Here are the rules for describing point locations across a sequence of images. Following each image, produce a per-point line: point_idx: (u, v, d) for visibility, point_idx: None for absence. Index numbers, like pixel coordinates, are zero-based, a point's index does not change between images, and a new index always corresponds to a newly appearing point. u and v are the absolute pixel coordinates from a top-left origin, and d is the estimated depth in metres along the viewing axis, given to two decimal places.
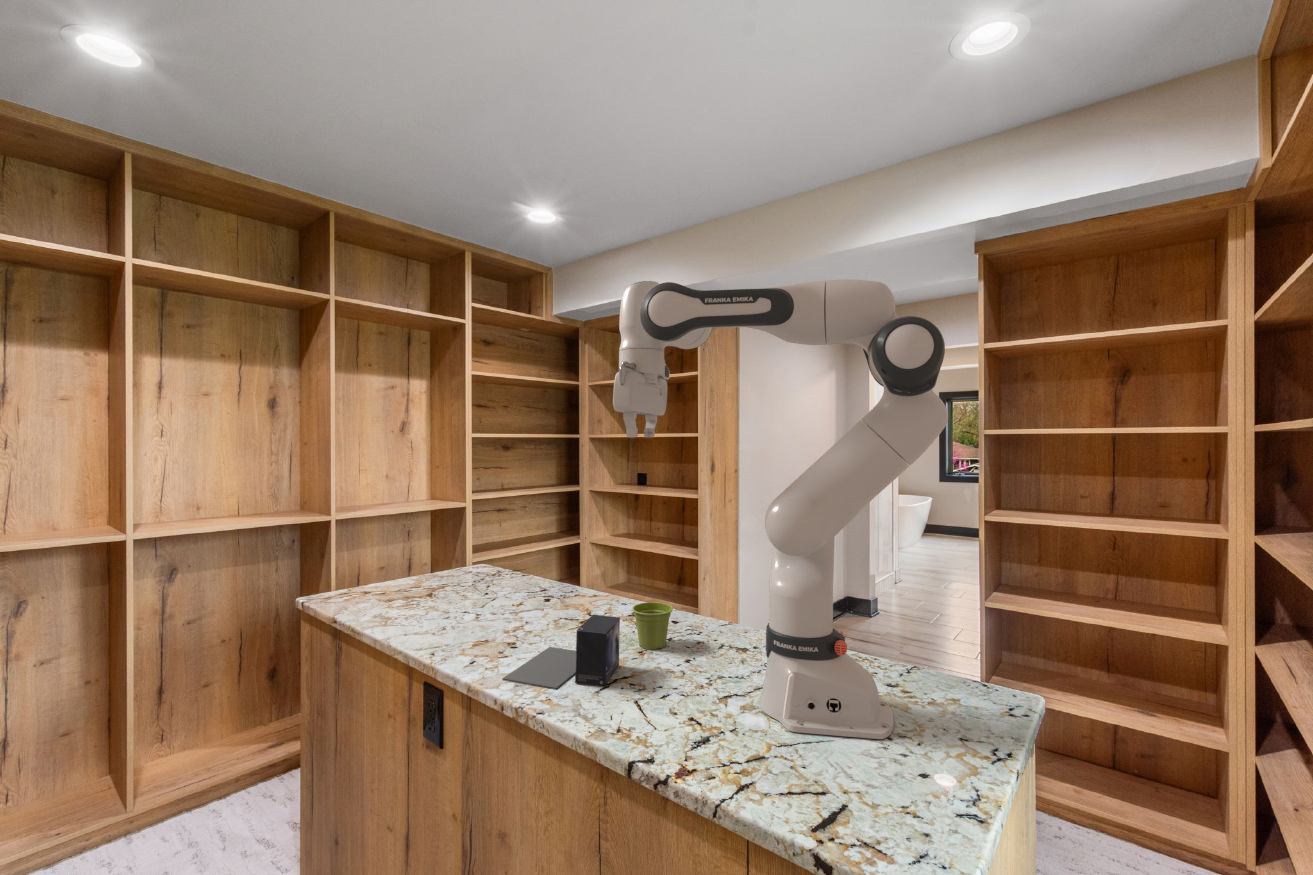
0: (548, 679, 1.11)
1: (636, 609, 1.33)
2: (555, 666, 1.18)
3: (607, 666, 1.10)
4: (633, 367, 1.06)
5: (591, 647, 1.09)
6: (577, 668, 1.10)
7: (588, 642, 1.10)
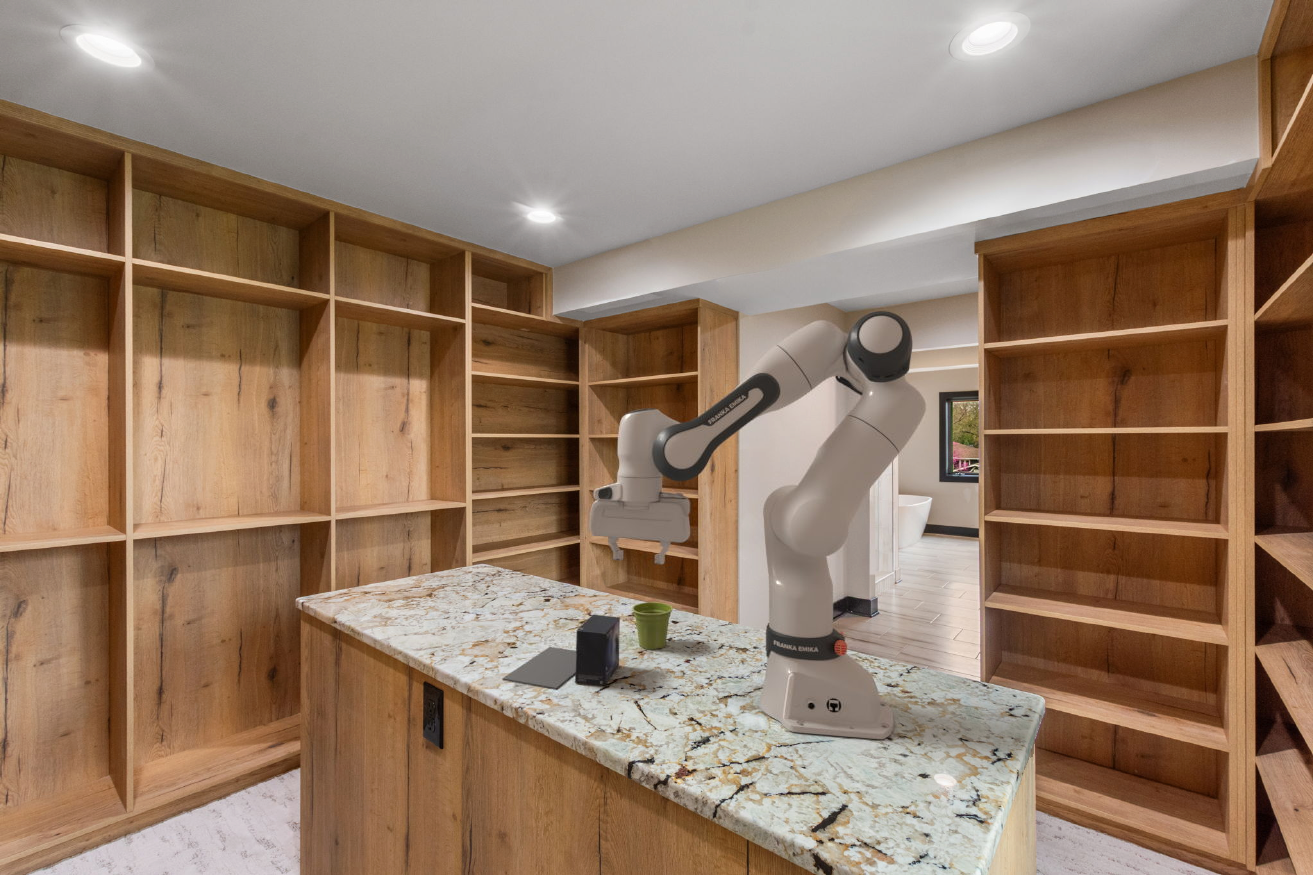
0: (548, 679, 1.11)
1: (636, 609, 1.33)
2: (555, 666, 1.18)
3: (607, 666, 1.10)
4: None
5: (591, 647, 1.09)
6: (577, 668, 1.10)
7: (588, 642, 1.10)
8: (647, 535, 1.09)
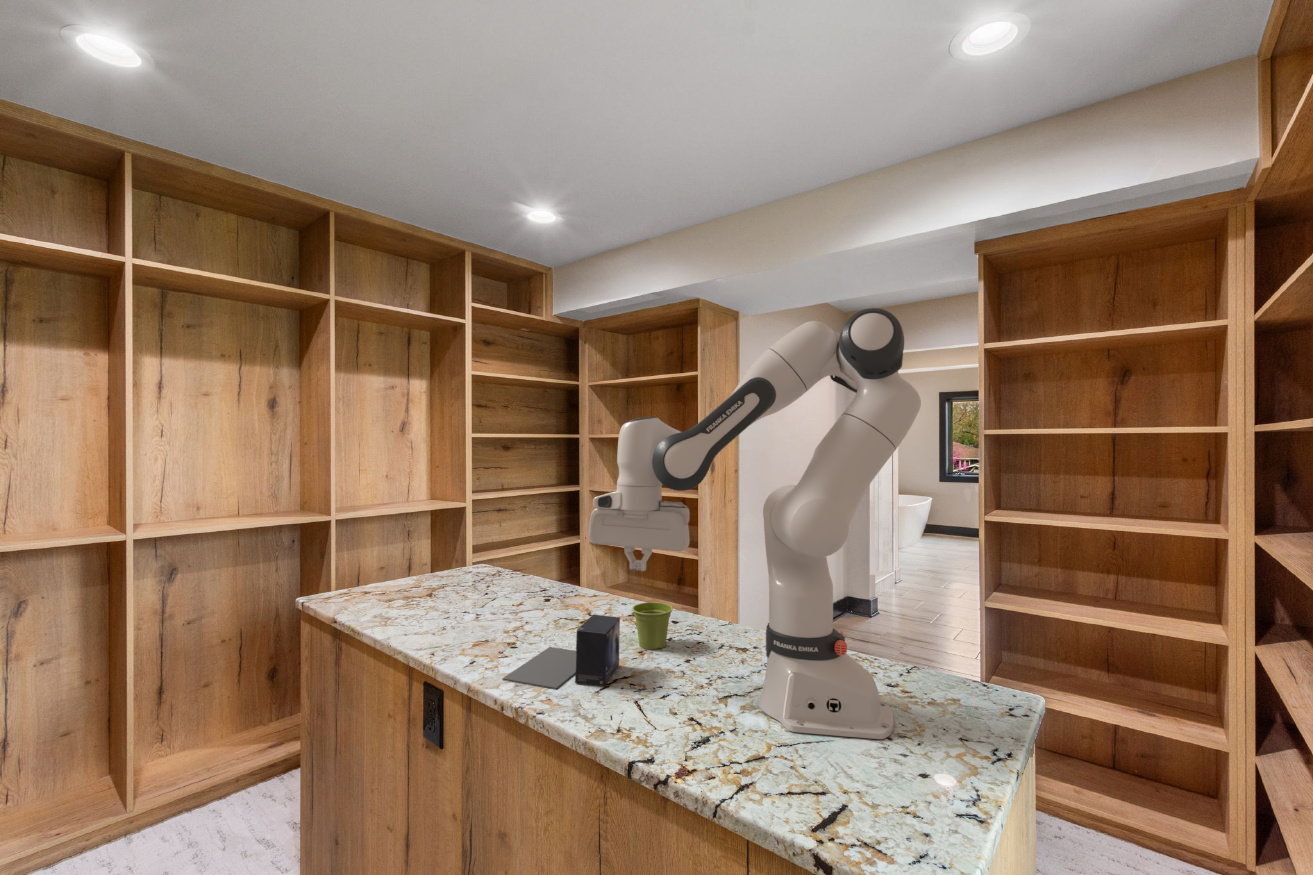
0: (548, 679, 1.11)
1: (636, 609, 1.33)
2: (555, 666, 1.18)
3: (607, 666, 1.10)
4: None
5: (592, 647, 1.09)
6: (577, 668, 1.10)
7: (588, 642, 1.10)
8: (646, 544, 1.09)
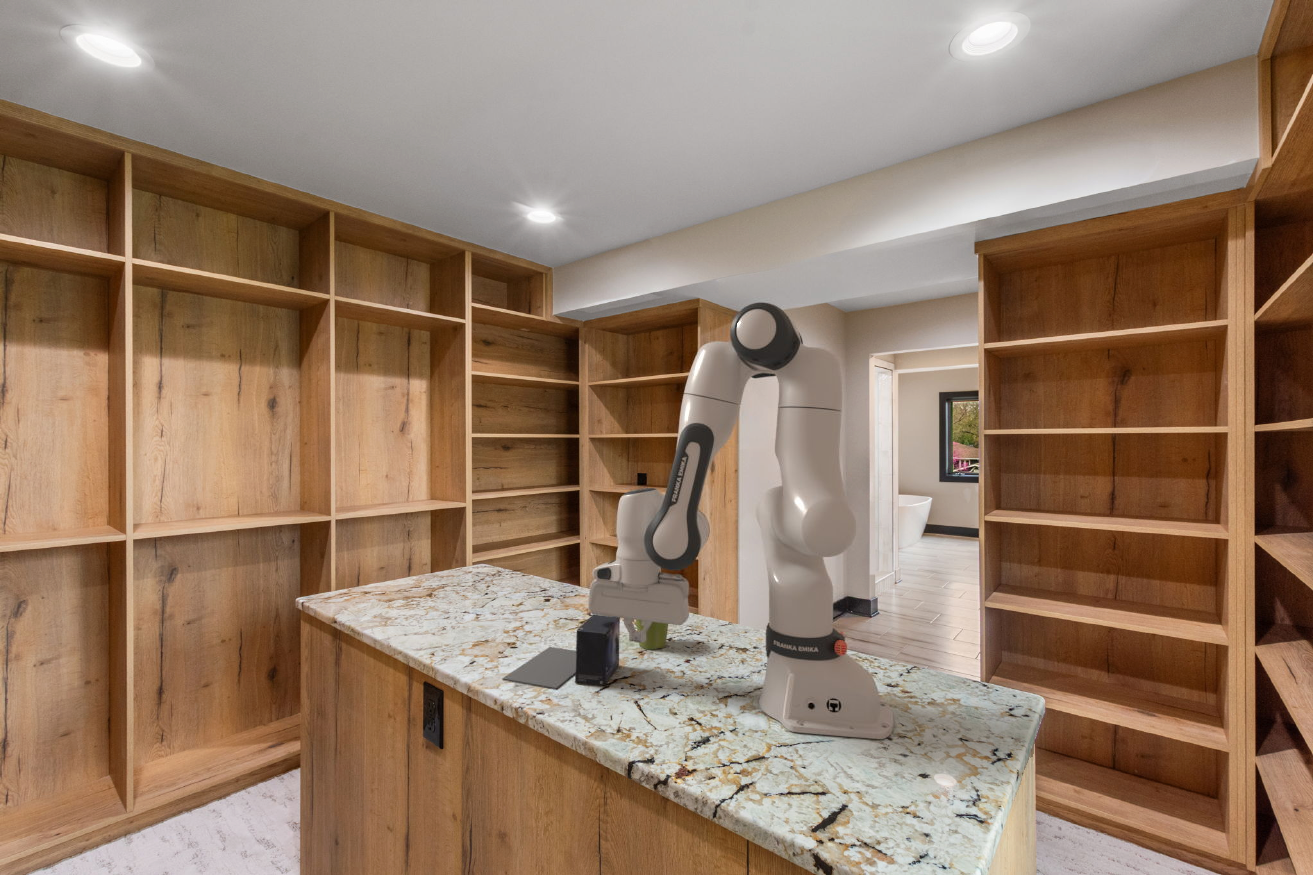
0: (548, 679, 1.11)
1: None
2: (555, 666, 1.18)
3: (607, 666, 1.10)
4: None
5: (592, 647, 1.09)
6: (577, 668, 1.10)
7: (588, 642, 1.10)
8: (646, 616, 1.09)
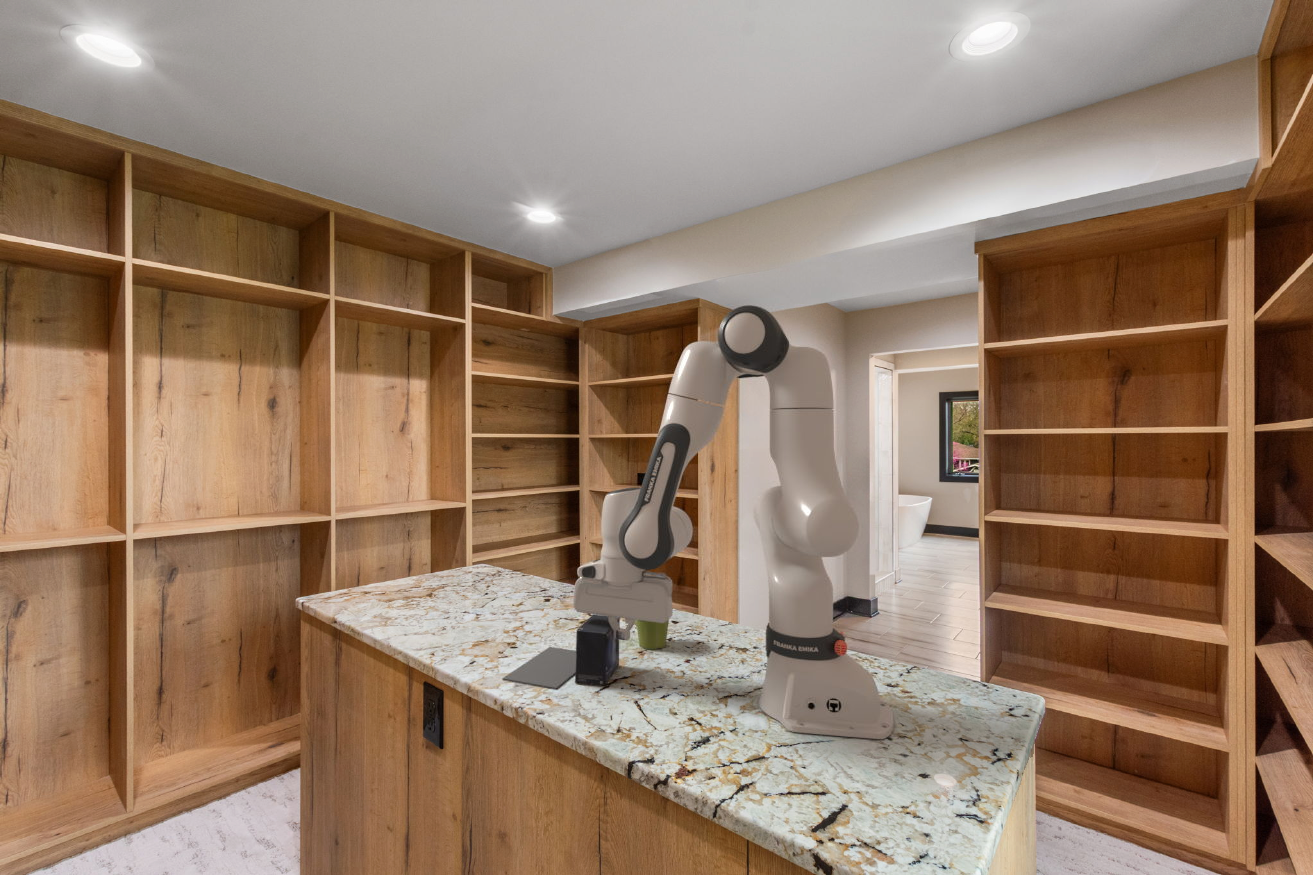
0: (548, 679, 1.11)
1: None
2: (555, 666, 1.18)
3: (607, 666, 1.10)
4: None
5: (591, 647, 1.09)
6: (577, 668, 1.10)
7: (588, 641, 1.10)
8: (630, 614, 1.10)
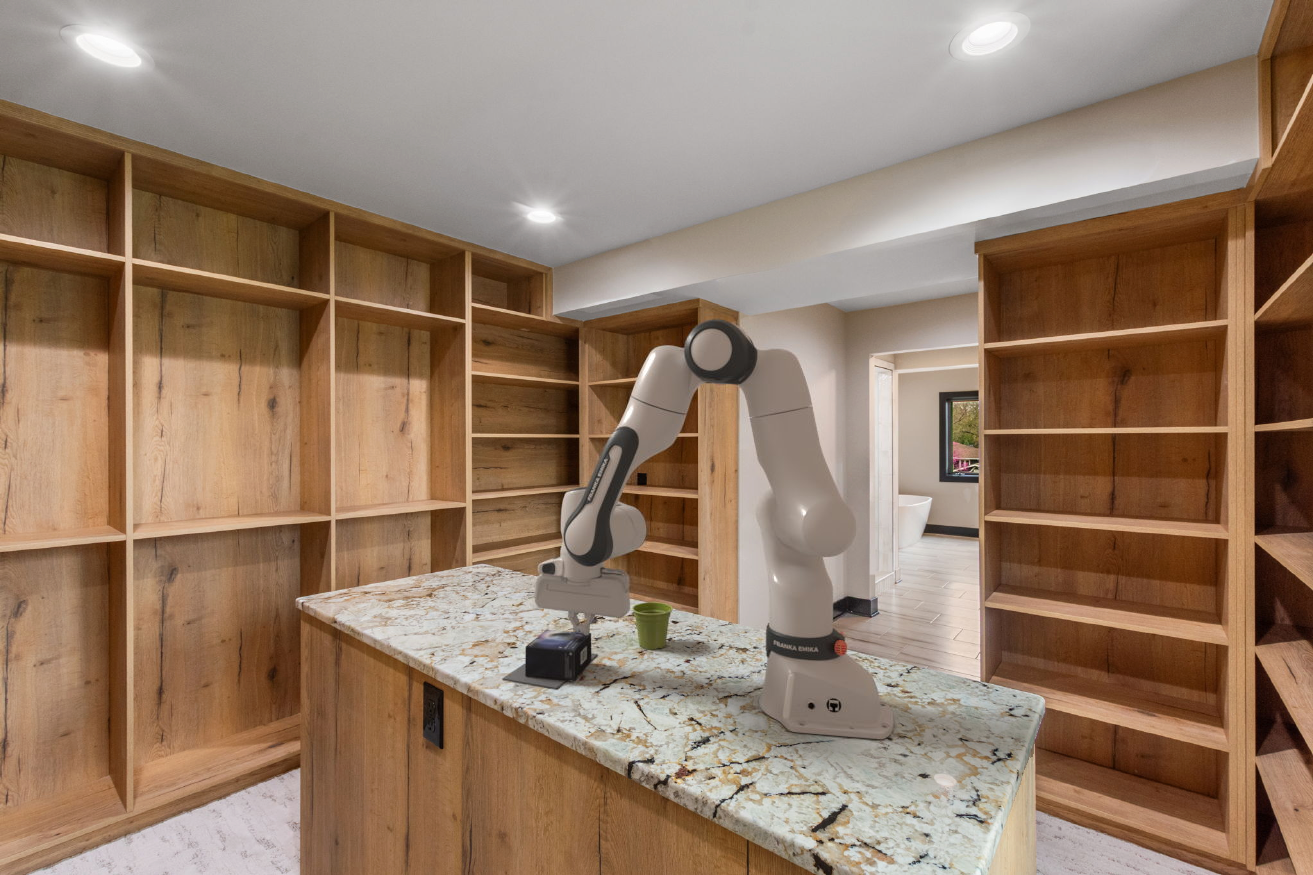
0: (548, 679, 1.11)
1: (636, 609, 1.33)
2: None
3: (560, 646, 1.12)
4: None
5: (539, 661, 1.12)
6: (560, 677, 1.11)
7: (534, 664, 1.12)
8: (588, 610, 1.13)
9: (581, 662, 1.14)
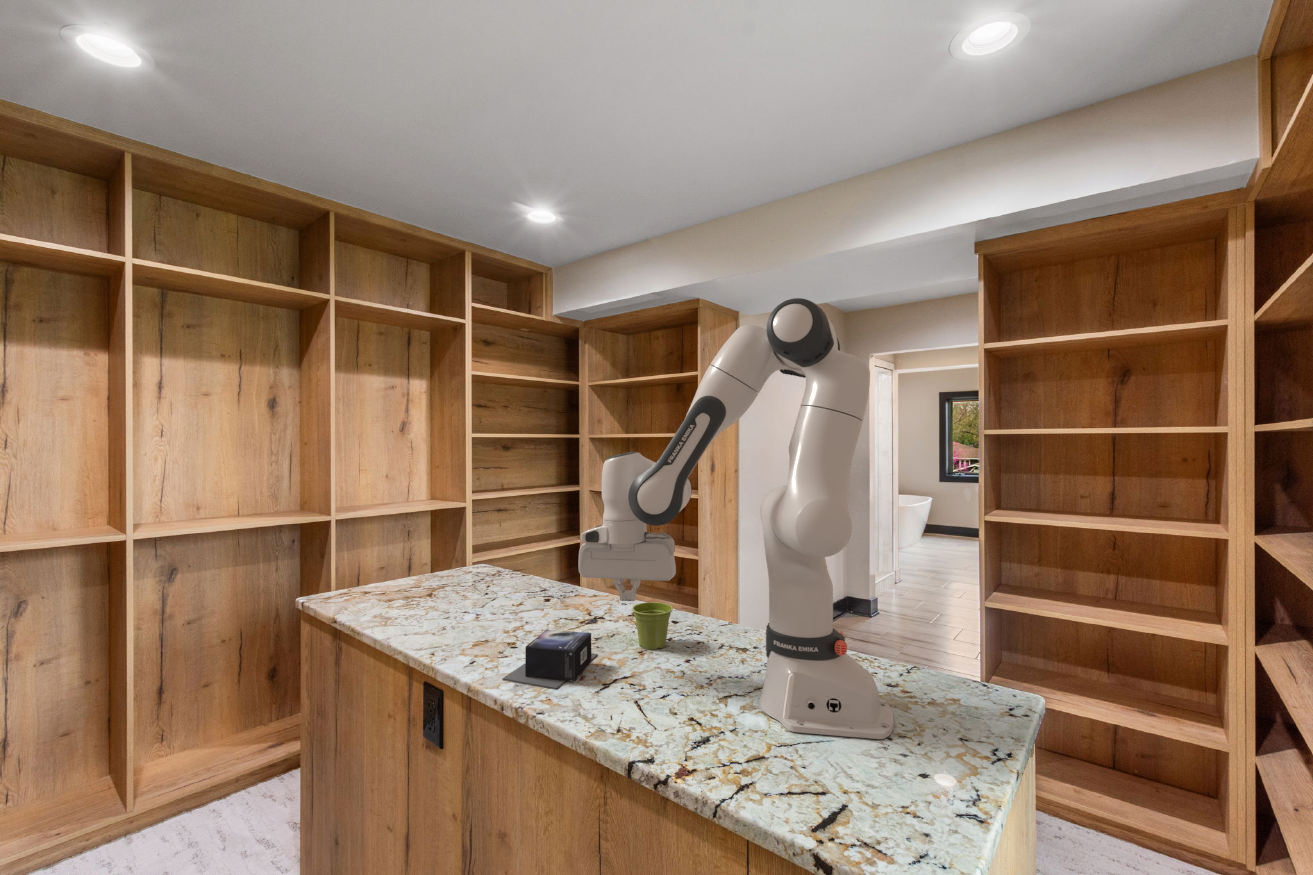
0: (548, 679, 1.11)
1: (636, 609, 1.33)
2: None
3: (560, 646, 1.12)
4: None
5: (539, 661, 1.12)
6: (560, 677, 1.11)
7: (534, 664, 1.12)
8: (635, 575, 1.13)
9: (581, 662, 1.14)
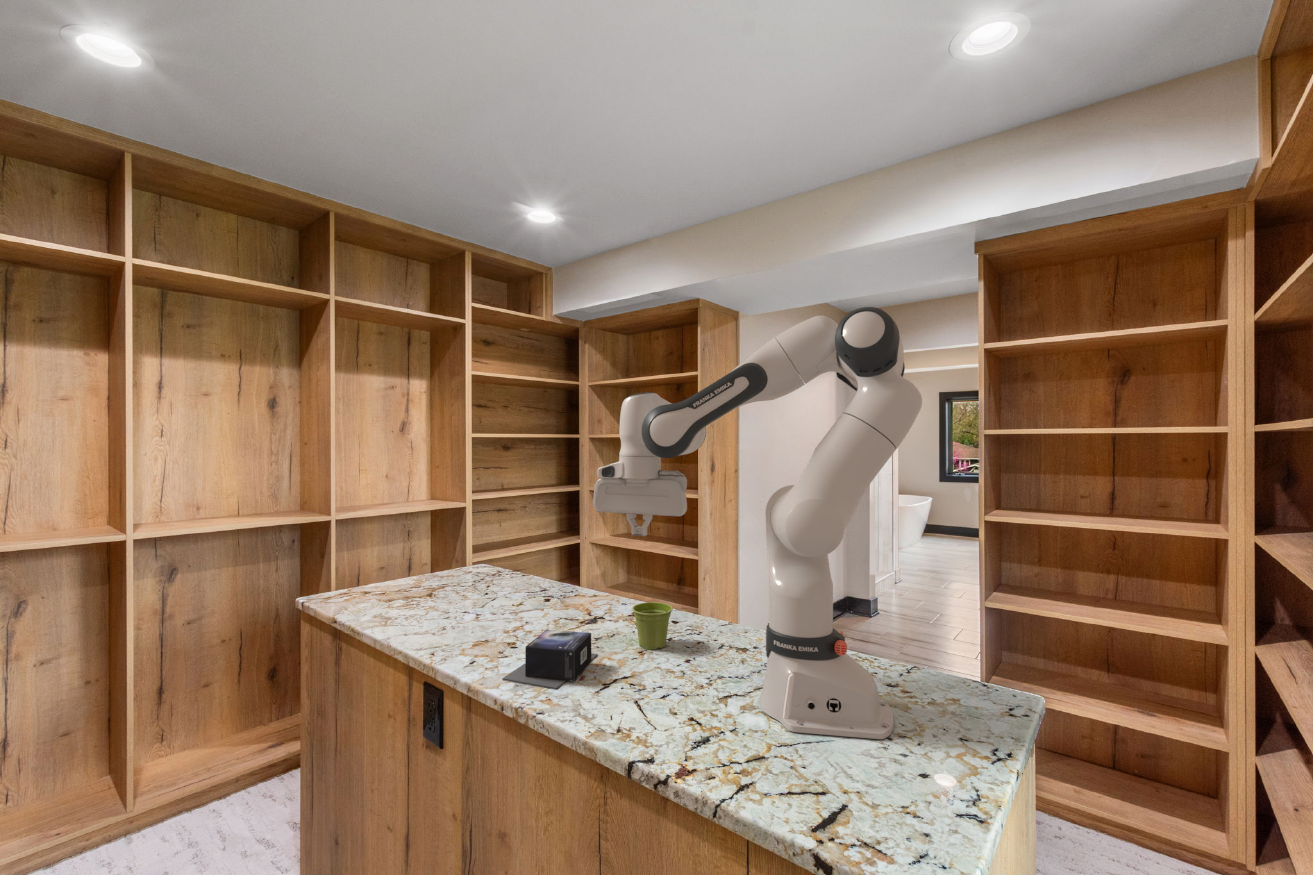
0: (548, 679, 1.11)
1: (636, 609, 1.33)
2: None
3: (560, 646, 1.12)
4: None
5: (539, 661, 1.12)
6: (560, 677, 1.11)
7: (534, 664, 1.12)
8: (647, 510, 1.18)
9: (581, 662, 1.14)
